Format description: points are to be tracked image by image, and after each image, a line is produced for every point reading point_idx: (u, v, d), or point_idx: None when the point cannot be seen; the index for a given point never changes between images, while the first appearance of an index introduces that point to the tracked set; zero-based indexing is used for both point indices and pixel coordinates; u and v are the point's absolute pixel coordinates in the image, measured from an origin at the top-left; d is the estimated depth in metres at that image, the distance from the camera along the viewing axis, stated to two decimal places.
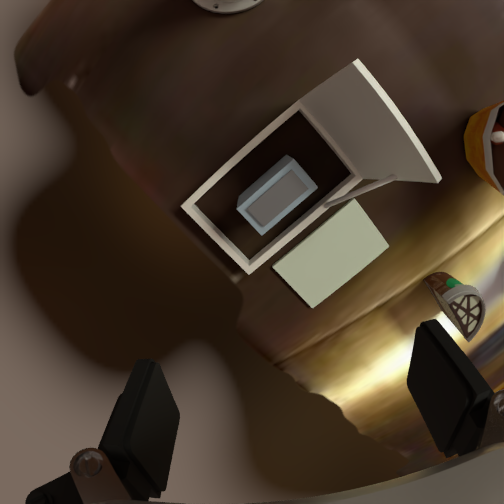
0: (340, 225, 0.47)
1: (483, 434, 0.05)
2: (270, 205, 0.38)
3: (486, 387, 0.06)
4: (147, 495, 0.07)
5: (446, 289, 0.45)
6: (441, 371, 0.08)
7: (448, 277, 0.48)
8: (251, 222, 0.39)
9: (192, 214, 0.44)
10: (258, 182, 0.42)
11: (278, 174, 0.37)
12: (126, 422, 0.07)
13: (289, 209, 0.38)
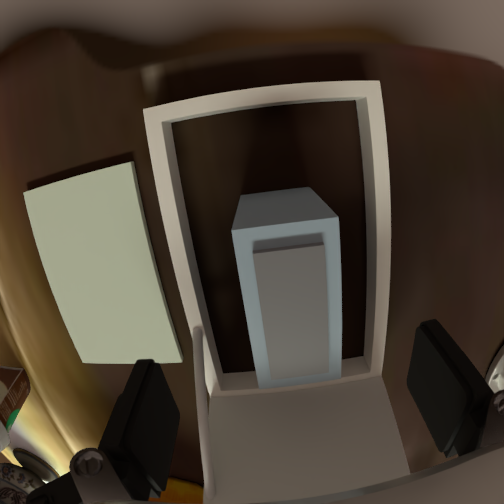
0: (146, 321, 0.24)
1: (483, 434, 0.05)
2: (293, 298, 0.14)
3: (486, 386, 0.06)
4: (147, 495, 0.07)
5: (5, 415, 0.22)
6: (441, 371, 0.08)
7: (21, 406, 0.26)
8: (281, 228, 0.13)
9: (349, 87, 0.16)
10: None
11: (337, 343, 0.15)
12: (126, 422, 0.07)
13: (252, 324, 0.15)
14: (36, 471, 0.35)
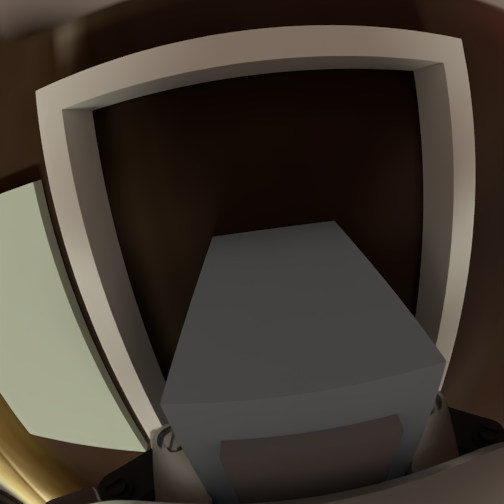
0: (90, 406, 0.15)
1: None
2: None
3: None
4: None
5: None
6: None
7: None
8: (298, 403, 0.04)
9: (415, 42, 0.07)
10: None
11: None
12: None
13: None
14: None
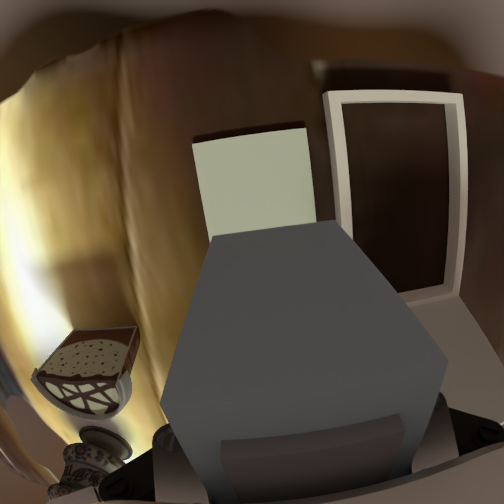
0: None
1: None
2: None
3: None
4: None
5: (127, 372, 0.29)
6: None
7: None
8: (299, 402, 0.04)
9: (447, 96, 0.23)
10: None
11: None
12: None
13: None
14: (108, 448, 0.41)
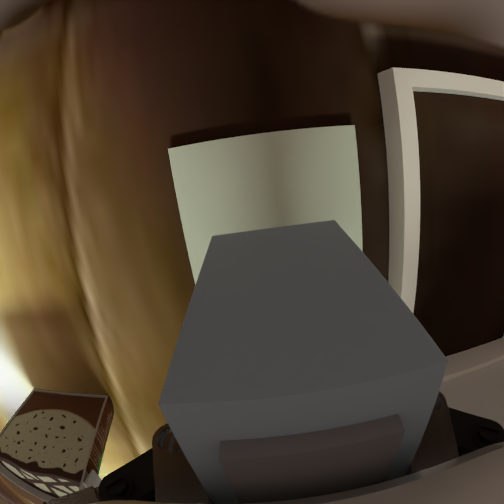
0: None
1: None
2: None
3: None
4: None
5: (96, 462, 0.18)
6: None
7: None
8: (298, 402, 0.04)
9: None
10: None
11: None
12: None
13: None
14: None
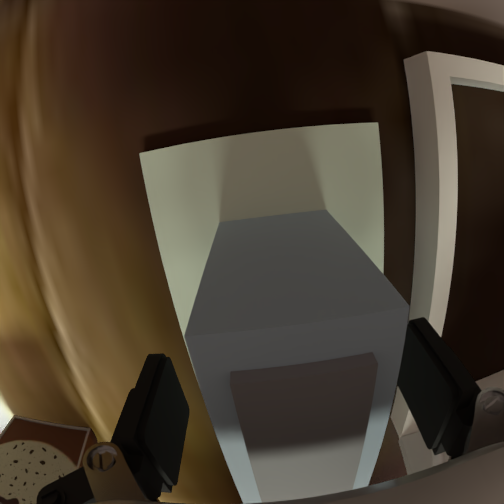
0: None
1: (468, 431, 0.05)
2: (307, 440, 0.07)
3: (472, 384, 0.07)
4: (159, 489, 0.07)
5: None
6: (428, 368, 0.08)
7: None
8: (292, 333, 0.06)
9: None
10: None
11: (367, 470, 0.08)
12: (140, 416, 0.08)
13: (234, 461, 0.08)
14: None
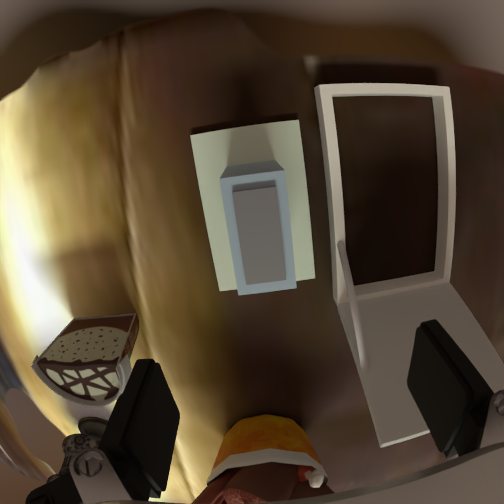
0: (293, 243, 0.32)
1: (483, 434, 0.05)
2: (258, 221, 0.22)
3: (486, 386, 0.06)
4: (147, 495, 0.07)
5: None
6: (441, 371, 0.08)
7: None
8: (249, 177, 0.22)
9: (434, 89, 0.25)
10: None
11: (291, 257, 0.24)
12: (126, 422, 0.07)
13: (232, 242, 0.23)
14: None
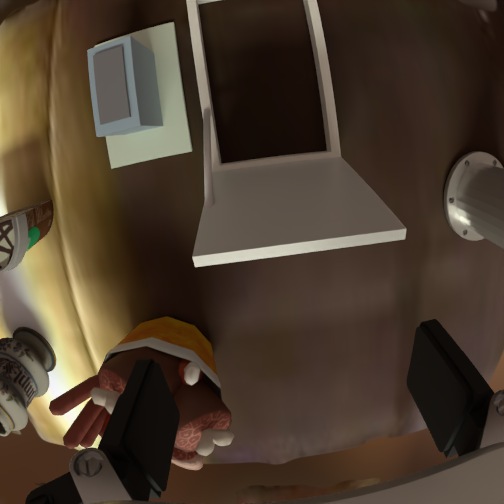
0: (169, 118, 0.33)
1: (483, 434, 0.05)
2: (109, 73, 0.23)
3: (486, 386, 0.06)
4: (147, 495, 0.07)
5: (29, 223, 0.31)
6: (441, 371, 0.08)
7: (41, 233, 0.35)
8: (106, 44, 0.23)
9: None
10: (149, 77, 0.28)
11: (134, 99, 0.25)
12: (126, 422, 0.07)
13: (93, 92, 0.24)
14: (33, 351, 0.44)
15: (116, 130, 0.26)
